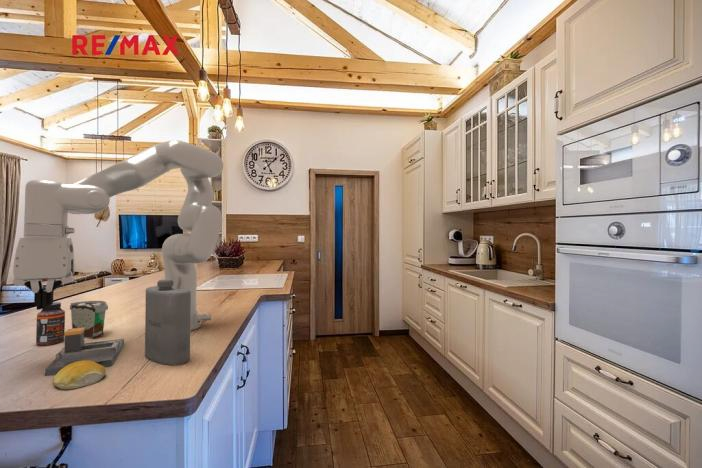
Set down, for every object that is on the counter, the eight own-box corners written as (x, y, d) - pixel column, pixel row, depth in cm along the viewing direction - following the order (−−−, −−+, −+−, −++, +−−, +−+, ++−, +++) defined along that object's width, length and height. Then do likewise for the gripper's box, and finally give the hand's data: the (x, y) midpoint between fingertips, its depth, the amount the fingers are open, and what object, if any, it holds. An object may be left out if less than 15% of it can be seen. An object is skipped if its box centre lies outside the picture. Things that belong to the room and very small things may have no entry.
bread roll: (94, 369, 74) (94, 352, 74) (110, 379, 69) (111, 361, 69) (46, 383, 67) (47, 364, 67) (61, 395, 62) (61, 374, 62)
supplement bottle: (46, 347, 87) (47, 306, 87) (30, 345, 89) (30, 305, 89) (70, 340, 93) (70, 301, 93) (54, 338, 94) (54, 300, 94)
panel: (124, 343, 90) (124, 334, 90) (111, 365, 75) (112, 354, 75) (70, 350, 85) (70, 340, 85) (44, 375, 70) (45, 363, 70)
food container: (117, 333, 100) (117, 302, 100) (96, 339, 94) (96, 306, 94) (91, 329, 104) (91, 299, 104) (69, 335, 98) (69, 302, 98)
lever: (84, 349, 81) (84, 327, 81) (80, 354, 78) (81, 330, 78) (68, 351, 79) (68, 328, 79) (63, 356, 77) (64, 332, 77)
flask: (137, 355, 82) (138, 278, 82) (160, 348, 87) (161, 276, 87) (171, 368, 74) (172, 283, 74) (194, 360, 79) (195, 280, 79)
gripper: (89, 233, 83) (87, 303, 83) (10, 231, 76) (8, 308, 76) (81, 232, 76) (79, 308, 76) (-6, 231, 69) (-9, 314, 69)
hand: (43, 308), depth 76 cm, fingers closed
